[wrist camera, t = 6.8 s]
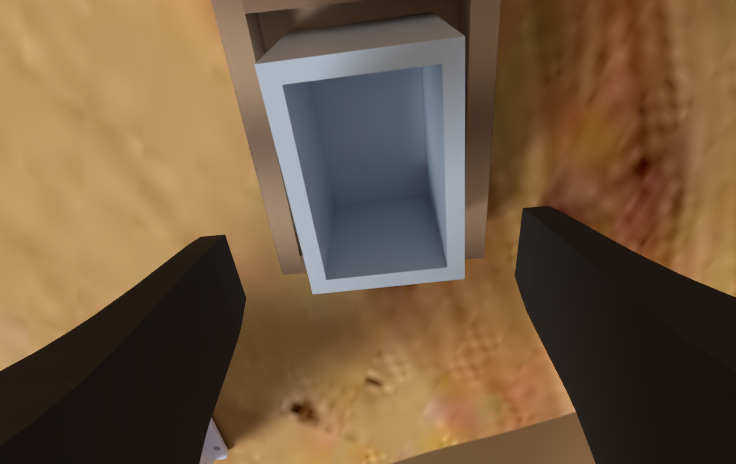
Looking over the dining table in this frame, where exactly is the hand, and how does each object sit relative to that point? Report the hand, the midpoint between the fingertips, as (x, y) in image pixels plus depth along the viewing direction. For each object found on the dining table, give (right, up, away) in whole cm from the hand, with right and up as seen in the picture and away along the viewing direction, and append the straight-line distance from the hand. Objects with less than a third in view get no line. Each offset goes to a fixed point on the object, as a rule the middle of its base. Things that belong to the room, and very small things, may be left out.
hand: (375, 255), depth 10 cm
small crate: (0, +5, +8) cm, 9 cm away
